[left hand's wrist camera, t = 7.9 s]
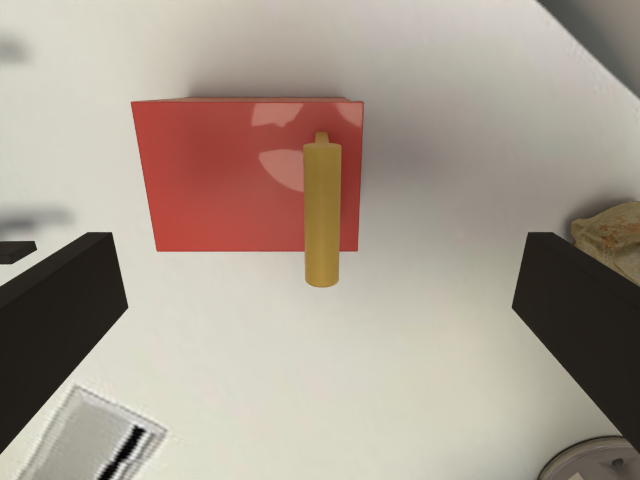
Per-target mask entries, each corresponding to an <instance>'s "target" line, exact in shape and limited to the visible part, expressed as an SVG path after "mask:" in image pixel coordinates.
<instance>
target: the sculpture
mask: <svg viewBox="0 0 640 480" xmlns="http://www.w3.org/2000/svg"><path fill="white" fill-rule="evenodd" d="M571 235H572V236H573V237H574V238H575V240H576V241H574V242H573V243H572V245H574V246H575V247H577V248H578V249H580V250H582V251H583V252H585V253H586V254H588V255H590V256H591V257H593V258H595V259H596V260H598V261H599V262H601V263H603V264H604V265H606V266H607V267H609V268H611V269H612V270H614V271H615V272H617V273H619V274H620V275H622V276H623V277H625V278H627V279H628V280H630V281H632V282H633V283H635V284H636V285H638V286H640V201H633V202H626V203H622V204H619V205H616V206H614V207H611V208H609V209H607V210H605V211H603V212H601V213H599V214H598V215H596V216H594V217H591V218H587V219H582V218H578V219H576V220H574V221H572V222H571Z"/></svg>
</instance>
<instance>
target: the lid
mask: <svg viewBox="0 0 640 480" xmlns="http://www.w3.org/2000/svg"><path fill="white" fill-rule="evenodd" d="M363 106H364V103H363V102H362V101H134V102H131V107H132V112H133V118H134V124H135V130H136V135H137V141H138V147H139V152H140V158H141V164H142V170H143V175H144V181H145V187H146V192H147V198H148V204H149V210H150V215H151V221H152V227H153V232H154V238H155V244H156V250H157V252H218V251H305V280H306V282H307V283H308V284H309V285H311V286H315V287H330V286H333V285H335V284H336V283H337V282H338V280H339V251H358V230H359V205H360V180H361V155H362V131H363Z"/></svg>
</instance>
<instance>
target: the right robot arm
mask: <svg viewBox="0 0 640 480" xmlns="http://www.w3.org/2000/svg"><path fill="white" fill-rule="evenodd" d="M36 250H37V248H36V244H35V241H1V242H0V264H13V263H15V262H17V261H18V260H20V259H22V258H24V257H25V256H27V255H29V254H31V253H32V252H34V251H36Z"/></svg>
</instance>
